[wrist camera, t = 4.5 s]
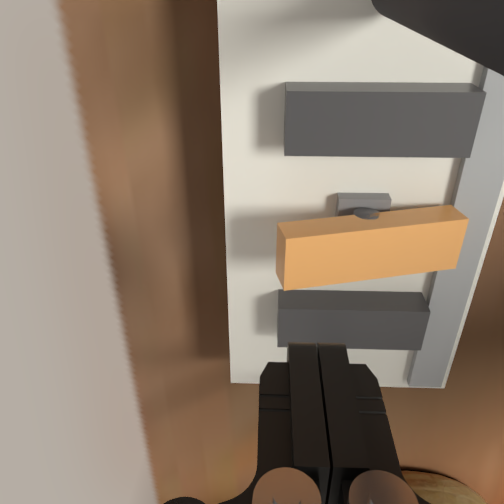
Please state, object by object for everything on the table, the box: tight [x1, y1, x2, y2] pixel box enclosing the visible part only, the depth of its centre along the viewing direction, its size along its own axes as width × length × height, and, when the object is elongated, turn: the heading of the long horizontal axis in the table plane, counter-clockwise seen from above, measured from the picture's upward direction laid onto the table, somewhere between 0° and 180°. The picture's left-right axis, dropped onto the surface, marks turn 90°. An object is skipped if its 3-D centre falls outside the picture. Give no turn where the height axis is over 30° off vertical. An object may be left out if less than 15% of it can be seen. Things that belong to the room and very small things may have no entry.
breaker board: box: [217, 0, 504, 388], centre depth 20 cm, size 19×11×4 cm, turn 0°
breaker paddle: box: [276, 205, 469, 291], centre depth 18 cm, size 2×7×2 cm, turn 90°
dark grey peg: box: [371, 0, 504, 76], centre depth 9 cm, size 2×2×14 cm
